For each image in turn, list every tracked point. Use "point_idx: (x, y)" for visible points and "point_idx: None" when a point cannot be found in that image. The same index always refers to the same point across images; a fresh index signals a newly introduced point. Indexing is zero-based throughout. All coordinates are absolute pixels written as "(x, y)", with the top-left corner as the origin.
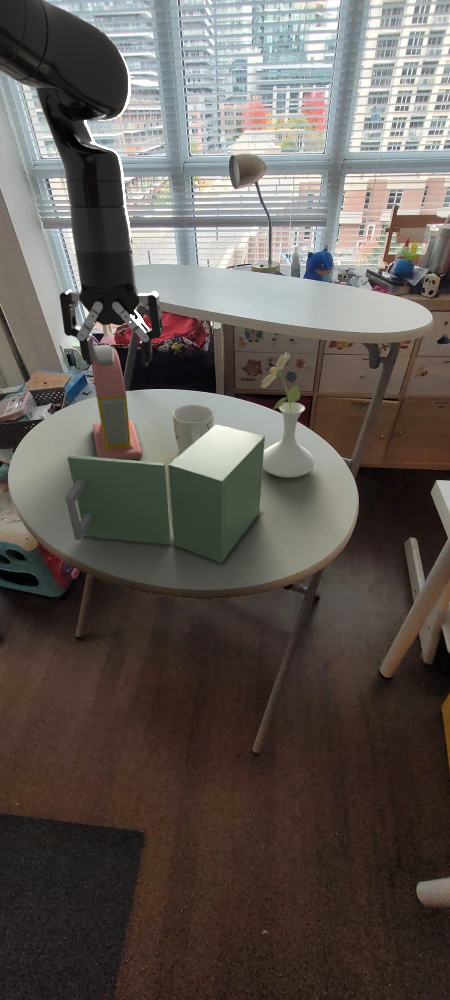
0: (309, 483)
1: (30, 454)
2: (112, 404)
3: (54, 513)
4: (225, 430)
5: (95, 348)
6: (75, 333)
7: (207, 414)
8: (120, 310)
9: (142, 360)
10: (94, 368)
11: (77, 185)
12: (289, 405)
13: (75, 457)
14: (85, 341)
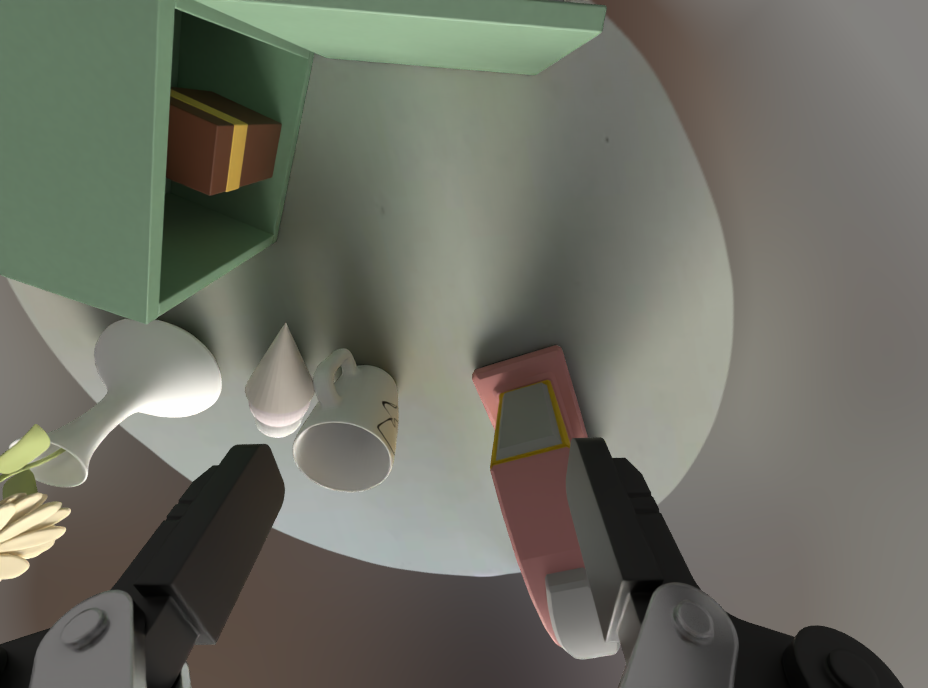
0: (104, 313)
1: (711, 368)
2: (527, 438)
3: (627, 154)
4: (93, 285)
5: None
6: (757, 659)
7: (322, 468)
8: None
9: (241, 467)
10: None
11: None
12: (37, 462)
13: (572, 10)
14: (640, 577)
